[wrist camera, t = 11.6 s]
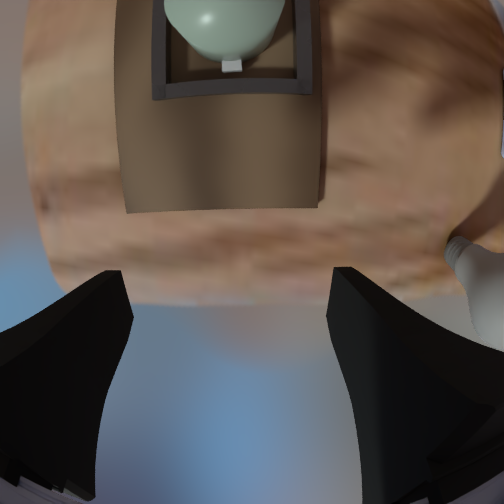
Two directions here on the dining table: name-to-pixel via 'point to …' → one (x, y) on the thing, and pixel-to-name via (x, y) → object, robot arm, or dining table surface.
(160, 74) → the dark grey square frame
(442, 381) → the robot arm
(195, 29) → the pale green pear shape
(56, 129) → the dining table surface
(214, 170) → the board
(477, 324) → the lightbulb
